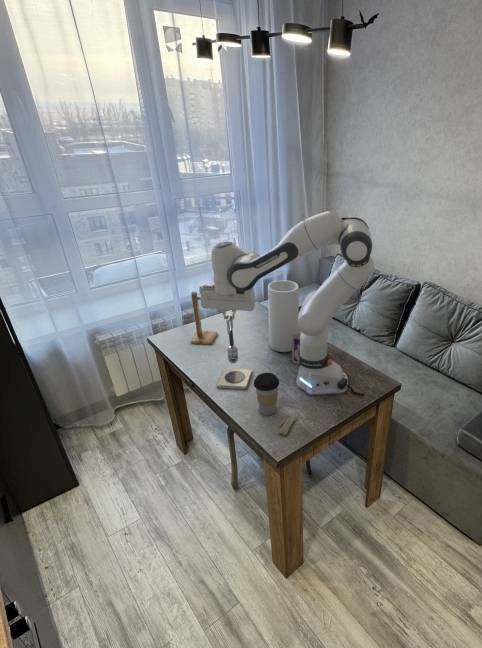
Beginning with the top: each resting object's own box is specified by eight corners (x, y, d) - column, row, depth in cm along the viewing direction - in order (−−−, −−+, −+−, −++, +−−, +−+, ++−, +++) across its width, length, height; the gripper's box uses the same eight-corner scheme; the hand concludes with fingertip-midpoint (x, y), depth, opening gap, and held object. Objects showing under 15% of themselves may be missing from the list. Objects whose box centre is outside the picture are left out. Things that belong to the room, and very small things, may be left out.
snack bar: (286, 434, 142) (278, 430, 142) (284, 437, 143) (277, 433, 143) (296, 417, 149) (289, 413, 150) (295, 420, 150) (288, 416, 151)
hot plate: (251, 372, 174) (251, 369, 174) (246, 389, 164) (245, 386, 163) (224, 370, 175) (224, 367, 174) (217, 387, 164) (216, 384, 163)
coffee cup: (275, 420, 149) (274, 388, 141) (251, 416, 150) (249, 384, 143) (283, 404, 157) (282, 373, 149) (260, 400, 158) (258, 369, 151)
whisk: (239, 359, 167) (236, 313, 156) (236, 366, 162) (232, 320, 151) (230, 358, 167) (226, 313, 156) (226, 366, 162) (222, 319, 152)
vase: (263, 347, 193) (260, 287, 177) (281, 335, 203) (280, 277, 187) (287, 356, 187) (286, 295, 170) (304, 343, 197) (305, 284, 181)
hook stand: (227, 334, 201) (222, 289, 189) (221, 345, 193) (216, 298, 180) (197, 333, 202) (191, 287, 189) (191, 343, 193) (183, 296, 180)
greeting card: (291, 363, 182) (291, 335, 174) (298, 355, 188) (298, 327, 180) (313, 369, 178) (314, 341, 170) (320, 361, 184) (321, 333, 176)
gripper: (195, 287, 145) (200, 321, 152) (251, 290, 144) (253, 324, 152) (201, 280, 150) (205, 313, 157) (255, 284, 150) (256, 316, 157)
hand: (229, 318), depth 154 cm, fingers closed on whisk
